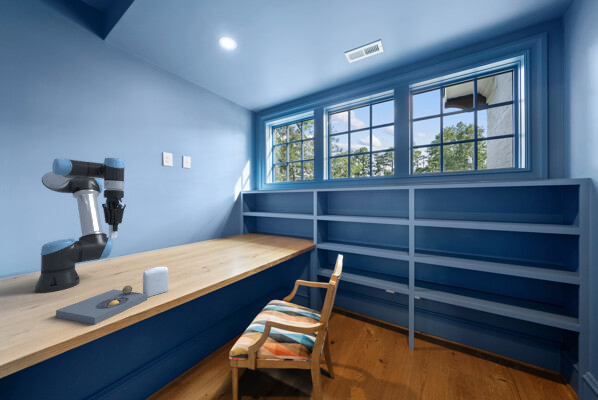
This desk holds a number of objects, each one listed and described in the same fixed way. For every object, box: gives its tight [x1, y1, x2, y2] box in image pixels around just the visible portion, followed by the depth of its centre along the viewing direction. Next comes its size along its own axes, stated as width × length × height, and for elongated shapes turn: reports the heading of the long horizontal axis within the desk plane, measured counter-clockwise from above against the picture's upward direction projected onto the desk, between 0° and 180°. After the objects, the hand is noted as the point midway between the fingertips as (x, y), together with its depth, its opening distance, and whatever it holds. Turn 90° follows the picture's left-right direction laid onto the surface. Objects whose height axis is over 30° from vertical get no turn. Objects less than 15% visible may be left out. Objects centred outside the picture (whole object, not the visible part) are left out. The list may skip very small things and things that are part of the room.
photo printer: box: [142, 266, 169, 298], centre depth 102 cm, size 10×4×12 cm, turn 140°
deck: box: [55, 289, 149, 326], centre depth 88 cm, size 20×20×2 cm
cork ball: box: [122, 285, 133, 294], centre depth 96 cm, size 4×4×4 cm
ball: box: [108, 300, 119, 306], centre depth 87 cm, size 4×4×4 cm
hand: (113, 238), depth 106 cm, fingers closed
